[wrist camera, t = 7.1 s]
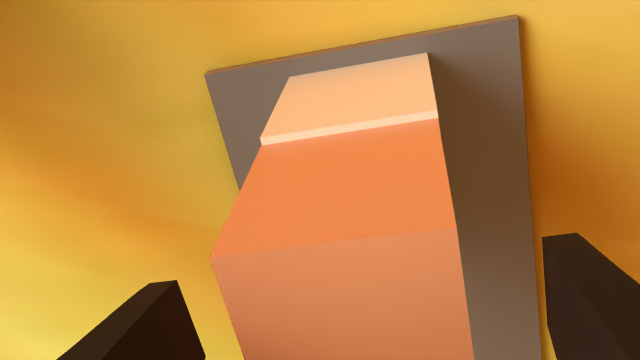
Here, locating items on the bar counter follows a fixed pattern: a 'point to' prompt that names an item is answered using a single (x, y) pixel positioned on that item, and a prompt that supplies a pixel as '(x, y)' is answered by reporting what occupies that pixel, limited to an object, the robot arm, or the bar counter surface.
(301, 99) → the cream block
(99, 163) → the bar counter surface
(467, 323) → the terracotta block
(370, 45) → the baseplate
